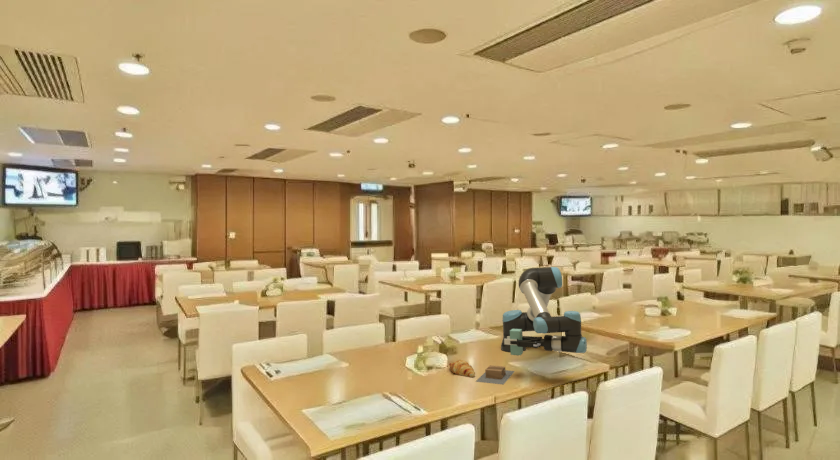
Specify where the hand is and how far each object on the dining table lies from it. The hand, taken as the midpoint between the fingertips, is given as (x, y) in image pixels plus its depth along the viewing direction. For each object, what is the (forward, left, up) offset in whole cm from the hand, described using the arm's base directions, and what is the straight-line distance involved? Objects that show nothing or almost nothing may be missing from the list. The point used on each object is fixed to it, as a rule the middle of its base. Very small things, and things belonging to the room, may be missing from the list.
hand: (505, 340), depth 235 cm
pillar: (0, +5, -7) cm, 8 cm away
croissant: (+4, -23, -18) cm, 30 cm away
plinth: (+4, -5, -18) cm, 19 cm away
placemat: (+4, -5, -18) cm, 19 cm away
